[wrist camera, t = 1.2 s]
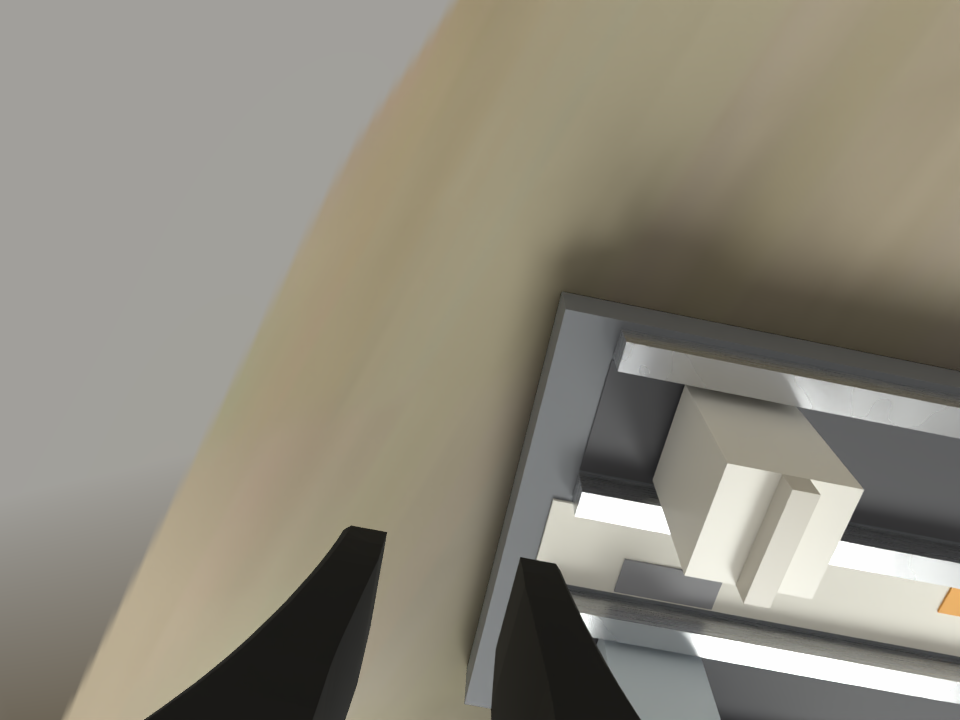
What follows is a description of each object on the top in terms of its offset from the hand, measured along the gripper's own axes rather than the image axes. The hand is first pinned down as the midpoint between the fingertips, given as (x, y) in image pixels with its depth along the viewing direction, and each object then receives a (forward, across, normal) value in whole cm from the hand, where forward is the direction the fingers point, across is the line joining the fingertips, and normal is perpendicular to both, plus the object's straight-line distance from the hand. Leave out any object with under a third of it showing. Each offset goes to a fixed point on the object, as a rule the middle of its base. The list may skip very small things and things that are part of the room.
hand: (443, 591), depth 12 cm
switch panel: (+9, -13, +4) cm, 17 cm away
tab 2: (+8, -7, 0) cm, 10 cm away
